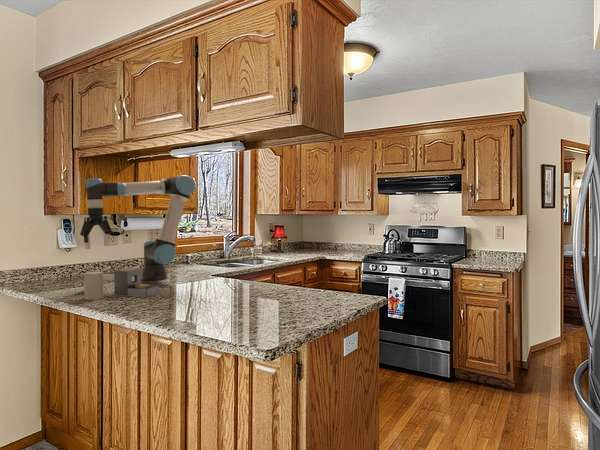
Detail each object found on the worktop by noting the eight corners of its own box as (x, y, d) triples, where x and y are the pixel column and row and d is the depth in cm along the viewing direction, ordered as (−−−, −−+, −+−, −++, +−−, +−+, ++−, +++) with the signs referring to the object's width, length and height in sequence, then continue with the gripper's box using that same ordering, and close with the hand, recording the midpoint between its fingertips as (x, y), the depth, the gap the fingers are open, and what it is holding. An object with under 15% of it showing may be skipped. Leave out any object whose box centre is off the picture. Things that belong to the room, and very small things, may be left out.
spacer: (141, 284, 215) (148, 284, 214) (141, 291, 215) (148, 292, 214) (135, 285, 210) (141, 286, 209) (135, 293, 210) (142, 294, 209)
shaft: (90, 287, 224) (90, 270, 224) (136, 290, 215) (135, 273, 215) (84, 289, 220) (84, 271, 220) (130, 292, 211) (130, 274, 211)
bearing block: (128, 290, 220) (128, 267, 220) (141, 291, 218) (141, 268, 217) (114, 294, 211) (114, 270, 210) (127, 295, 208) (127, 271, 208)
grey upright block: (102, 298, 201) (102, 273, 201) (83, 300, 198) (83, 274, 198) (103, 295, 209) (103, 271, 208) (85, 296, 206) (85, 272, 205)
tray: (141, 291, 218) (141, 285, 218) (159, 293, 214) (159, 286, 214) (127, 295, 208) (127, 288, 208) (146, 297, 205) (146, 289, 205)
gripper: (106, 207, 239) (108, 244, 240) (70, 208, 215) (73, 250, 217) (117, 207, 237) (119, 244, 238) (82, 208, 213) (85, 250, 214)
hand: (97, 247), depth 227 cm, fingers open, 13 cm apart
